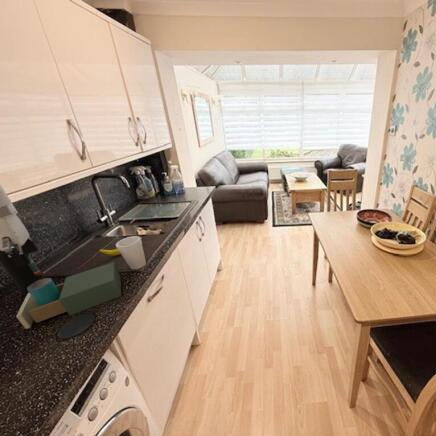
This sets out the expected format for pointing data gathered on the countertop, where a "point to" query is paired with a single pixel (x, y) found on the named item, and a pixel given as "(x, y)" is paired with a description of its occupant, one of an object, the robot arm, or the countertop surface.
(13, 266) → the wine bottle
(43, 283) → the can
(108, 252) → the banana
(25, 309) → the drawer
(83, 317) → the coaster
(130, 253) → the foam cup
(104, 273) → the cabinet
